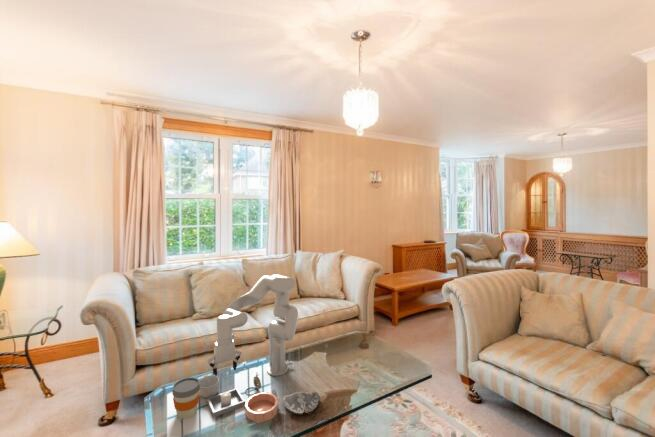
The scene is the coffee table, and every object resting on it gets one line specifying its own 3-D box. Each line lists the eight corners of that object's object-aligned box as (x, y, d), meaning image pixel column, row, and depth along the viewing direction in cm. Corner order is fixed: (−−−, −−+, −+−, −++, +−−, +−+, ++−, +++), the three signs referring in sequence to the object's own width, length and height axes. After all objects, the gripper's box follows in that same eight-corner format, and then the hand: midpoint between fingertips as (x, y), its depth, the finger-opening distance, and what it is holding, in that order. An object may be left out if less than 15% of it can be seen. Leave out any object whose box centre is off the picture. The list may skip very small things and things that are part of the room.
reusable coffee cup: (195, 401, 169) (195, 374, 167) (204, 414, 159) (203, 385, 158) (170, 411, 161) (169, 383, 159) (177, 426, 151) (176, 396, 150)
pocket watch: (243, 395, 174) (242, 377, 173) (250, 386, 182) (250, 369, 182) (256, 397, 172) (256, 380, 171) (263, 388, 180) (263, 371, 180)
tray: (237, 393, 176) (237, 388, 176) (245, 406, 165) (245, 401, 165) (206, 403, 167) (206, 398, 167) (213, 418, 156) (213, 412, 156)
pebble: (229, 399, 169) (229, 390, 169) (232, 405, 165) (232, 395, 165) (219, 403, 167) (219, 393, 166) (222, 408, 163) (222, 399, 162)
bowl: (270, 396, 173) (270, 388, 173) (283, 414, 160) (283, 405, 160) (241, 407, 164) (241, 399, 164) (252, 427, 151) (252, 418, 151)
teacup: (220, 398, 171) (219, 384, 171) (198, 403, 167) (197, 388, 167) (218, 383, 184) (218, 370, 183) (198, 387, 180) (198, 374, 179)
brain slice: (285, 421, 155) (285, 416, 155) (281, 399, 172) (281, 394, 171) (324, 414, 160) (324, 409, 160) (316, 393, 177) (316, 388, 177)
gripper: (239, 332, 171) (239, 363, 172) (205, 340, 161) (205, 373, 163) (243, 338, 165) (244, 370, 166) (208, 347, 155) (209, 380, 157)
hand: (225, 371), depth 164 cm, fingers open, 9 cm apart
